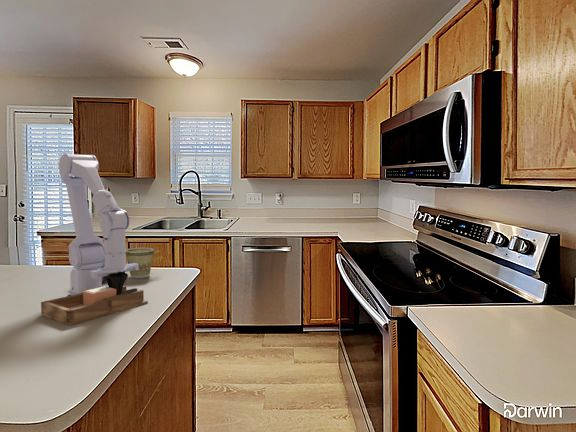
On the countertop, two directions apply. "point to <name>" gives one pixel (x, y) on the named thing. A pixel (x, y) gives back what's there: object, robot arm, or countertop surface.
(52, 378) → the countertop surface
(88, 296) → the block
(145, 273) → the ceramic cup
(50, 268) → the countertop surface
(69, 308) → the wooden tray
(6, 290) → the countertop surface
